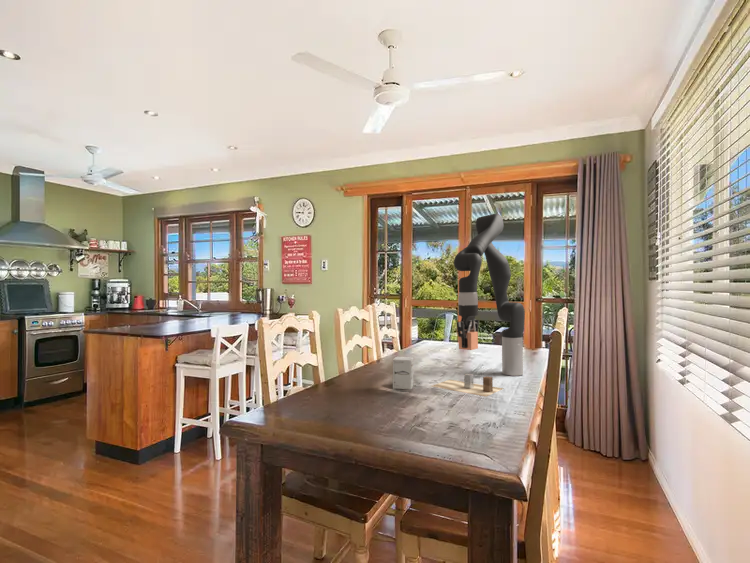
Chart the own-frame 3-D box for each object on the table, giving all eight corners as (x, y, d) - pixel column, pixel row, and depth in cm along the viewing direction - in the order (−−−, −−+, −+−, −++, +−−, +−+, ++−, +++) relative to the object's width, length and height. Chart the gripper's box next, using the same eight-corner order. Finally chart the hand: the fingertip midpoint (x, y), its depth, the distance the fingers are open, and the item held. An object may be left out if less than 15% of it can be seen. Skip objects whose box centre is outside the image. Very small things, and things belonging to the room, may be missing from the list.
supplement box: (392, 391, 162) (392, 359, 162) (395, 386, 170) (395, 356, 170) (411, 392, 161) (410, 360, 161) (413, 387, 168) (413, 356, 168)
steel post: (467, 386, 165) (467, 373, 165) (473, 387, 163) (473, 374, 163) (464, 387, 163) (464, 374, 163) (470, 388, 161) (470, 375, 161)
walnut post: (486, 389, 159) (486, 376, 159) (492, 390, 158) (492, 377, 158) (483, 391, 157) (483, 377, 157) (489, 392, 156) (489, 378, 156)
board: (449, 382, 177) (449, 379, 177) (503, 391, 161) (503, 388, 161) (430, 389, 166) (430, 386, 166) (486, 399, 150) (486, 396, 150)
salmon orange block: (465, 347, 167) (465, 330, 167) (477, 348, 163) (477, 331, 163) (458, 348, 163) (458, 332, 163) (471, 350, 159) (471, 333, 159)
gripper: (468, 302, 171) (468, 343, 171) (450, 304, 160) (450, 348, 160) (485, 303, 166) (485, 345, 166) (467, 304, 155) (468, 350, 155)
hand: (468, 346), depth 163 cm, fingers closed on salmon orange block, 5 cm apart
